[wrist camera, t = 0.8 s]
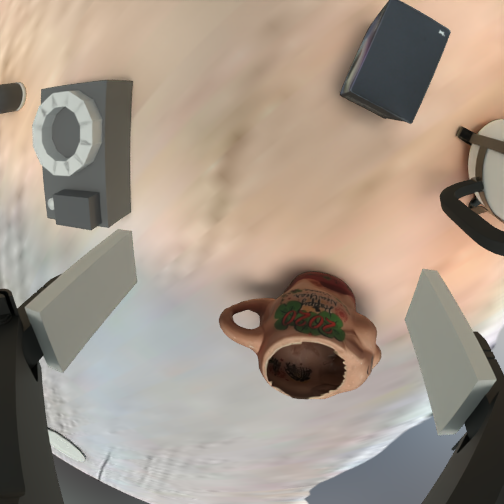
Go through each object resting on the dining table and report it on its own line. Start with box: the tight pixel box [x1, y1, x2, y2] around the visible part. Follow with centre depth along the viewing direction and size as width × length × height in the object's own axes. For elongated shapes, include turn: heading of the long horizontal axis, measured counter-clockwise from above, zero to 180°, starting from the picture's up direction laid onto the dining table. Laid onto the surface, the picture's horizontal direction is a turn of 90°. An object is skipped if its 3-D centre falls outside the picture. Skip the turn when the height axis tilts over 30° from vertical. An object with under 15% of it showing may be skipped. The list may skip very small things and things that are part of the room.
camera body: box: [32, 80, 133, 230], centre depth 36 cm, size 18×11×8 cm, turn 175°
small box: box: [340, 0, 451, 124], centre depth 25 cm, size 11×6×10 cm, turn 159°
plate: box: [48, 430, 85, 462], centre depth 90 cm, size 21×21×2 cm
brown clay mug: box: [219, 272, 381, 399], centre depth 38 cm, size 20×12×14 cm, turn 81°
